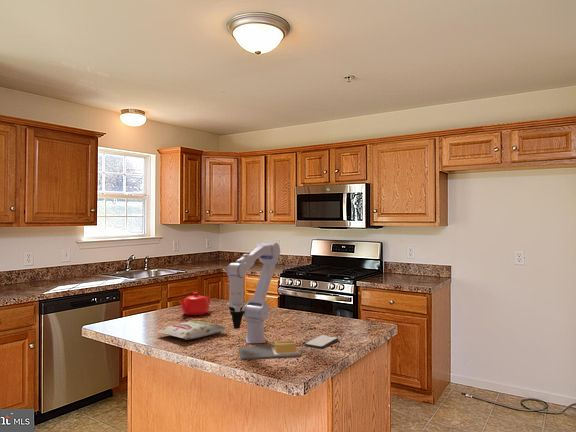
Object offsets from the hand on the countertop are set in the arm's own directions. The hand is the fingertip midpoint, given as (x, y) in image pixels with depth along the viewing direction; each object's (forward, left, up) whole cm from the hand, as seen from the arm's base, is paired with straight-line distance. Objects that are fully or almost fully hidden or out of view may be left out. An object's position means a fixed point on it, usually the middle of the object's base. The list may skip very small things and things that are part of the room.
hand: (236, 326), depth 170 cm
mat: (+6, +13, -9) cm, 17 cm away
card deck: (+6, +19, -9) cm, 22 cm away
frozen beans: (-25, -18, -10) cm, 33 cm away
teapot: (-71, -19, -10) cm, 74 cm away
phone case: (-4, +37, -10) cm, 38 cm away
